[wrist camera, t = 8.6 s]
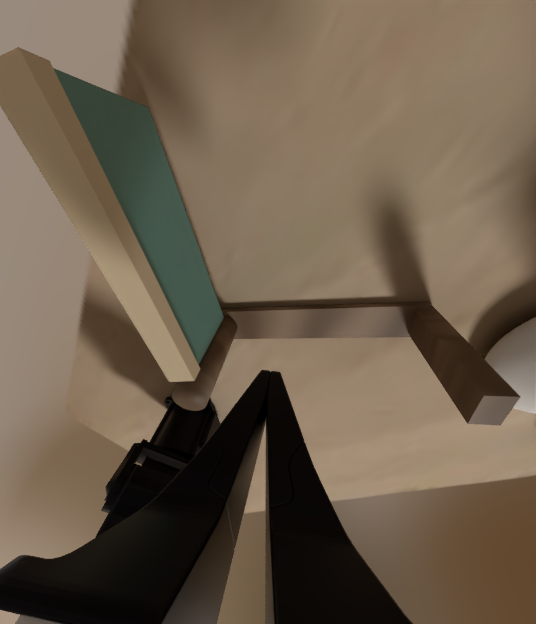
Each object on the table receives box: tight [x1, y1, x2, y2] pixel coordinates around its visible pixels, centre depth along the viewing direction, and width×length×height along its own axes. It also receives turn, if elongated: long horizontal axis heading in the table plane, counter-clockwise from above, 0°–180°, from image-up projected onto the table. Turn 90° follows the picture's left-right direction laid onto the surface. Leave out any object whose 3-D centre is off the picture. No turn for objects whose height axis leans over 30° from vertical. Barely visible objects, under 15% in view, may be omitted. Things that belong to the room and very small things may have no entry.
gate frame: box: [172, 302, 520, 425], centre depth 17 cm, size 19×3×9 cm, turn 96°
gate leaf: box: [0, 47, 224, 382], centre depth 14 cm, size 15×2×7 cm, turn 12°
